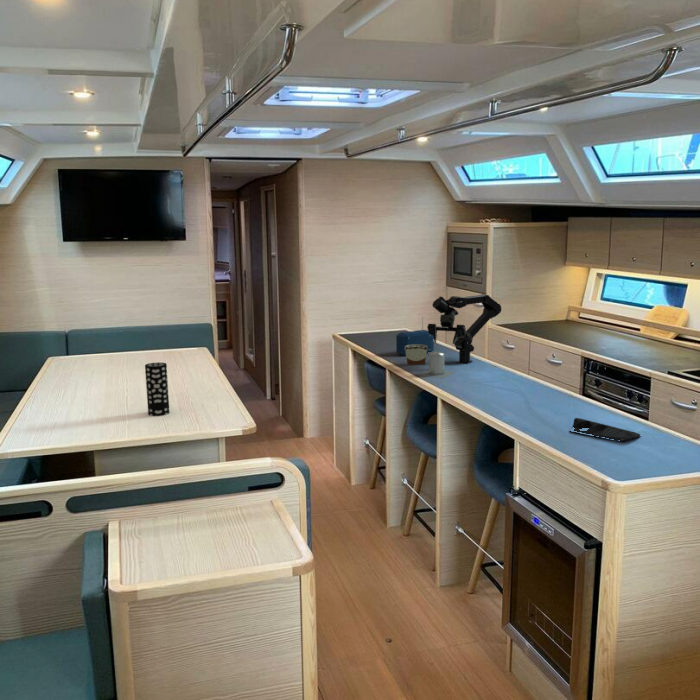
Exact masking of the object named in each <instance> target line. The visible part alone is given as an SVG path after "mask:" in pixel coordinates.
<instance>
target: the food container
mask: <svg viewBox="0 0 700 700" xmlns="http://www.w3.org/2000/svg"><path fill="white" fill-rule="evenodd" d="M404 350H405V351H406V356H405V358H406V359H405V360H406V366H413V365H415V366H416V365H420V366H421V365H426V363H427V362H426V361H427V354H428V353H427V350H428V347H427V346H426V345H421V344H411V345H406V346H405V348H404Z"/></svg>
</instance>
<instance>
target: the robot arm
mask: <svg viewBox="0 0 700 700" xmlns="http://www.w3.org/2000/svg"><path fill="white" fill-rule="evenodd" d="M474 304H481V305H482V307H483V310H482V314H481V315H480V316H478V318H477V319H475V321H474V322H473V323H472V324H471V325H470V326H469V327H468V328H467V330H466V325H465V324H456V327H455V326H454V324H455V319H456V316H457V315H459V311H457V309H462V308H464V307H466V306H468V305H474ZM432 307H433V309H435V310H436V311H438V312H439V313H440V318H439V321H440V326H437V323H428V324H427V327H426V328H427V331H428V332H429V334H431V335H433V337H434V344H436V342H437V340H438V339H437V337H438V334H437V333H438V331H440V332H441V331H442V332H443V331H444V332H454V336H453V339H452V344H453V345H454V347H455V350H456V351H459V353H458V354H459V355H458V357H459V358H458V360H457V361H456V363H458V362H459V364H471V363H472V361H473V360H471V353H472V352H474V350H475V346H474V345H473V344H472V343H473V340H474V337H475V336H476V335H477V334H478V333H479V331H481V329H482V328H483V327H484V326H485V325H486V324H487V323H488V322H489V321H490V320H491V319H493V318H496V317H497V316H498V315H500V314H501V312H502V306H501V304H500V303H498V302H497V301H496V300H494V299H493V298H492V297H491V296H490V295H489V294H484V293H481V294H478V295H470V296H455V295H453V296H450V297H449V298H448V299H445V298H444V297H443V296H438V298H436V299H435V300H434V301H433V302H432Z"/></svg>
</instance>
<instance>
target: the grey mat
mask: <svg viewBox="0 0 700 700" xmlns="http://www.w3.org/2000/svg"><path fill="white" fill-rule="evenodd" d="M455 373H456V371H448V370H444V374H443V375H430V374H429V369H428V370H426V371H423V372H420V373H418V374H417V376H424V377H429V378H430V377H431V378H440V379H444V378H447V377H449V376H451V375H454V374H455Z"/></svg>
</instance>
